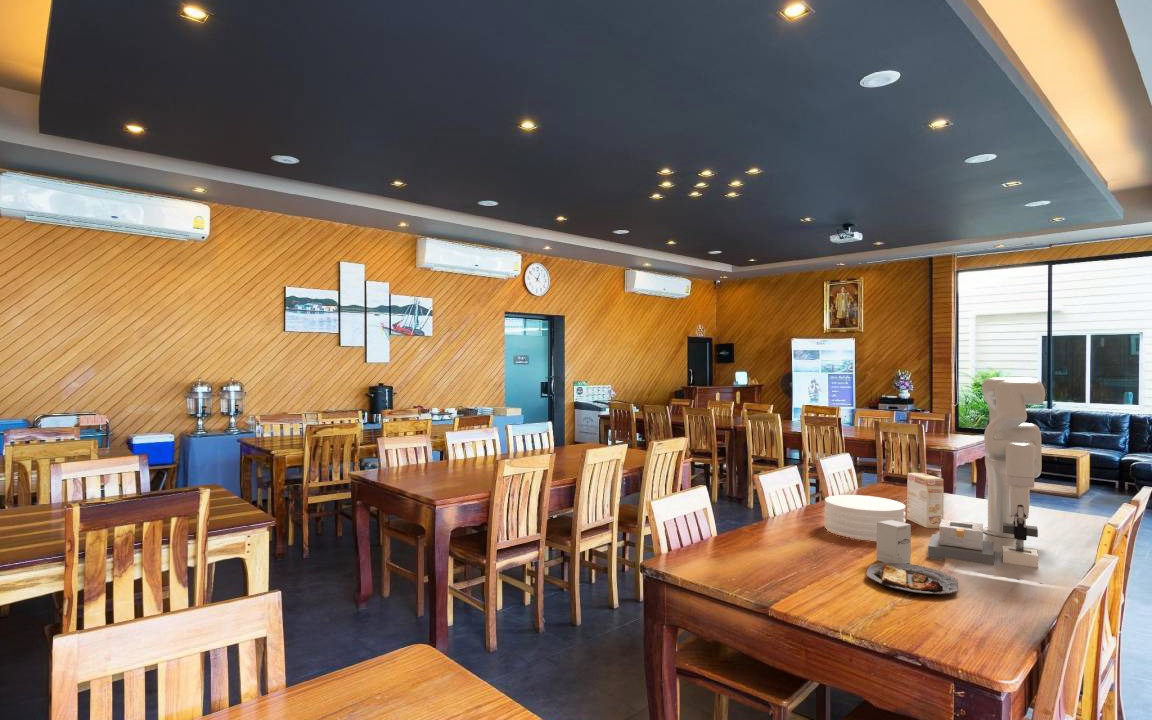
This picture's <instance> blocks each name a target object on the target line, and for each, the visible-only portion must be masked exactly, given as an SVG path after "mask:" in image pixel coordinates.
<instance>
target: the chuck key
mask: <svg viewBox="0 0 1152 720" xmlns="http://www.w3.org/2000/svg"><path fill="white" fill-rule="evenodd" d="M1014 526H1015V524H1012V523H1003V533H1008V534H1014ZM1026 527H1027V537H1033V538H1038V537H1039V530H1038V526H1036V525H1028V524H1026ZM1024 545H1025V540H1018V539H1015V547H1016V551H1018V552H1024V547H1025V546H1024Z"/></svg>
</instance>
